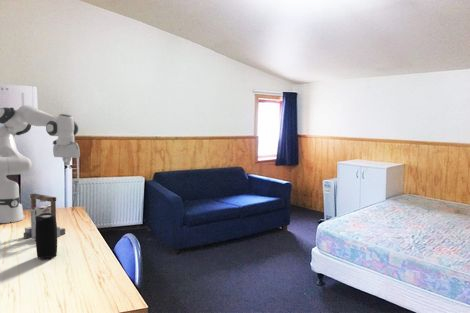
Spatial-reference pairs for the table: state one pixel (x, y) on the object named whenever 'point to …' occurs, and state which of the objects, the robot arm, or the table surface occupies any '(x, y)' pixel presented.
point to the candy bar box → (36, 212)
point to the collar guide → (29, 235)
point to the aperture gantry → (43, 199)
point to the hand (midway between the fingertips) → (66, 165)
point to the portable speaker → (46, 236)
